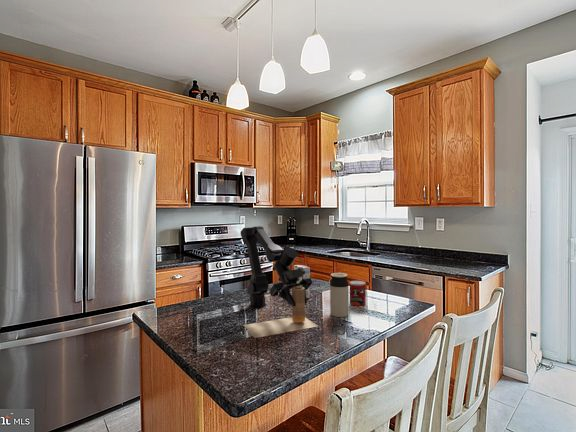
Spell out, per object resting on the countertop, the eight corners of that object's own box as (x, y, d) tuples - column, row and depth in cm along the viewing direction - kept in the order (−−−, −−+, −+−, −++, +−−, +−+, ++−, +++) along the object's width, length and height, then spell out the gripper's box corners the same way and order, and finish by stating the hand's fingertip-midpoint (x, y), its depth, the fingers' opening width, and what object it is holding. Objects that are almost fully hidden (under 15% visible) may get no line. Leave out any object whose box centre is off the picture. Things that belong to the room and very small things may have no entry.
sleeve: (292, 322, 124) (292, 289, 124) (292, 318, 129) (291, 286, 129) (305, 322, 124) (305, 289, 124) (304, 317, 129) (304, 286, 129)
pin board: (254, 342, 112) (254, 328, 112) (243, 328, 125) (243, 316, 125) (318, 329, 123) (318, 317, 123) (302, 318, 135) (302, 307, 135)
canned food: (347, 305, 153) (347, 283, 153) (352, 301, 160) (352, 280, 160) (363, 308, 149) (363, 284, 149) (367, 303, 156) (367, 281, 156)
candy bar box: (311, 298, 167) (310, 267, 166) (302, 299, 165) (302, 268, 164) (301, 293, 177) (301, 264, 177) (293, 294, 175) (293, 264, 174)
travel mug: (348, 318, 135) (348, 276, 135) (329, 317, 137) (329, 276, 137) (348, 312, 143) (348, 272, 143) (331, 311, 145) (330, 272, 145)
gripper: (273, 263, 124) (289, 297, 115) (309, 258, 135) (327, 289, 126) (263, 279, 131) (278, 313, 122) (298, 274, 142) (314, 304, 133)
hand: (300, 304), depth 126 cm, fingers closed on sleeve, 5 cm apart
